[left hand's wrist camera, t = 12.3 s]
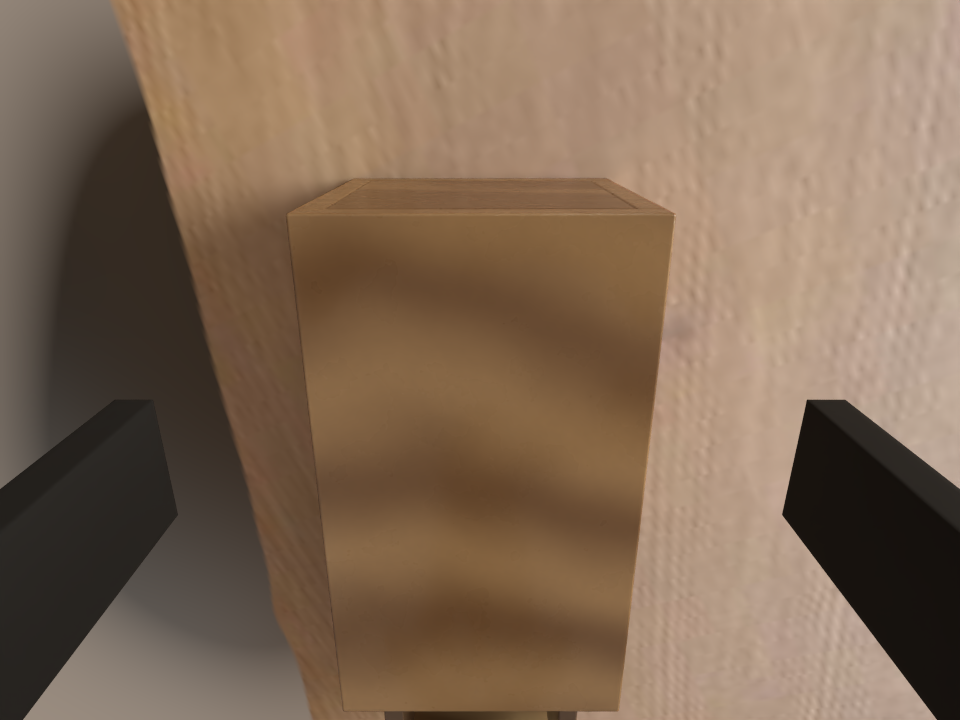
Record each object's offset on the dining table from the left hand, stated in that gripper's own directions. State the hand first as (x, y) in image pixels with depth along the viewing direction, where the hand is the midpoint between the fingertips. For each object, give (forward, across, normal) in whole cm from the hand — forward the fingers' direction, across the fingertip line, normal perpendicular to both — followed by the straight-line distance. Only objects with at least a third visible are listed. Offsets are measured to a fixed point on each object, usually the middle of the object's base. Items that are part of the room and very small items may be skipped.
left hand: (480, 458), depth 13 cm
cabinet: (+16, 0, -6) cm, 17 cm away
